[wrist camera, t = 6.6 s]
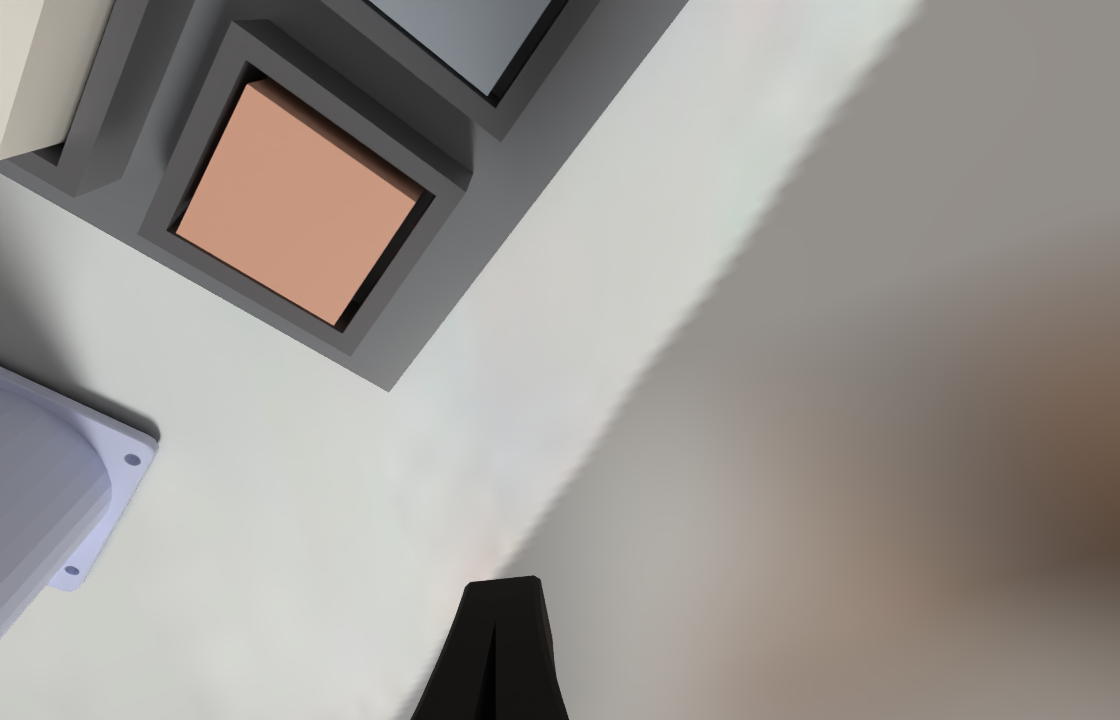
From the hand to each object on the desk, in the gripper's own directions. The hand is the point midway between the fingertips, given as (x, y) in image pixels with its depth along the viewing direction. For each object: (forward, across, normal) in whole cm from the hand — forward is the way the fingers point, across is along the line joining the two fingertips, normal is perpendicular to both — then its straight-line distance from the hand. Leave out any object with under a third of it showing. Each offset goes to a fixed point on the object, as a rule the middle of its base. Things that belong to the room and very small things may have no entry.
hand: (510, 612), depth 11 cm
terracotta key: (+8, +4, -6) cm, 11 cm away
